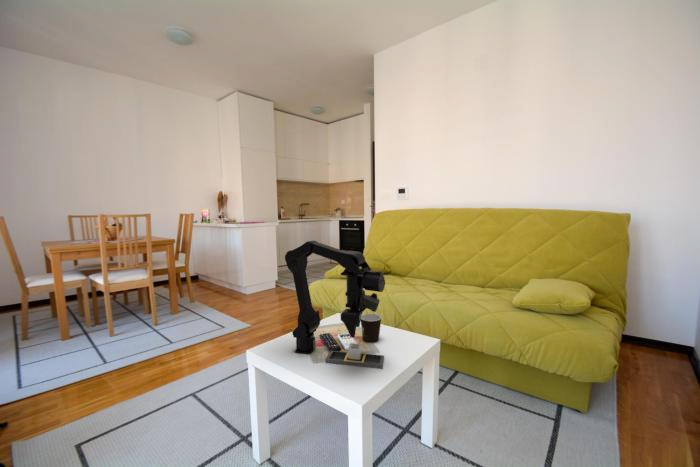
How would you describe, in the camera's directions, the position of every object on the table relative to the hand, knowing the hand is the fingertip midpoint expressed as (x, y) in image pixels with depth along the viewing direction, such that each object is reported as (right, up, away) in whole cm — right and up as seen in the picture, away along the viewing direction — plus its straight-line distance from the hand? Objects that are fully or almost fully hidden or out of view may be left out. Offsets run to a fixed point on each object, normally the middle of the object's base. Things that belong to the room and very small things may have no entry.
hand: (355, 331), depth 104 cm
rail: (0, -11, +1) cm, 11 cm away
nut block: (0, -11, +1) cm, 11 cm away
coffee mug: (+7, -10, +20) cm, 23 cm away
